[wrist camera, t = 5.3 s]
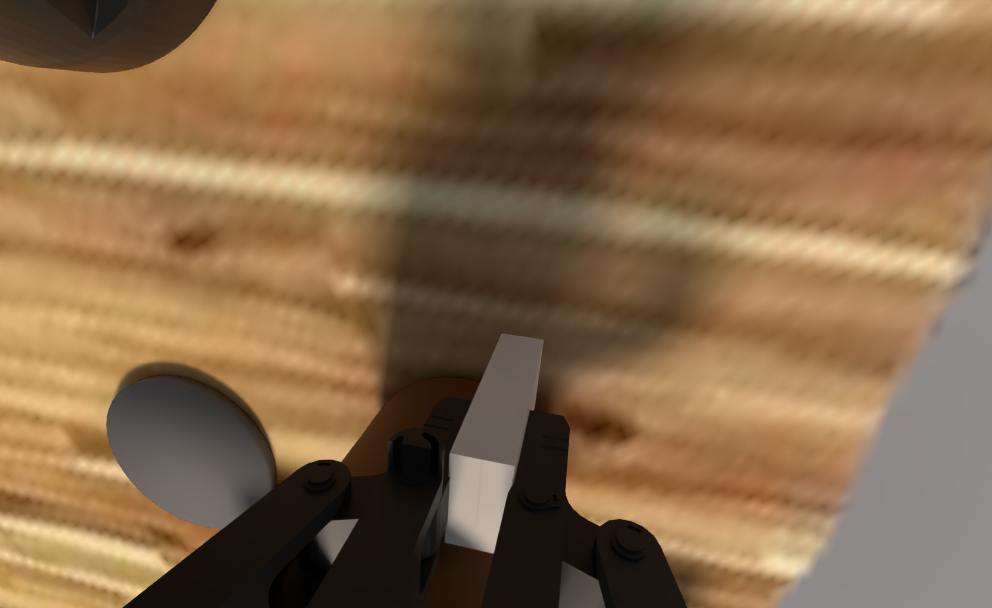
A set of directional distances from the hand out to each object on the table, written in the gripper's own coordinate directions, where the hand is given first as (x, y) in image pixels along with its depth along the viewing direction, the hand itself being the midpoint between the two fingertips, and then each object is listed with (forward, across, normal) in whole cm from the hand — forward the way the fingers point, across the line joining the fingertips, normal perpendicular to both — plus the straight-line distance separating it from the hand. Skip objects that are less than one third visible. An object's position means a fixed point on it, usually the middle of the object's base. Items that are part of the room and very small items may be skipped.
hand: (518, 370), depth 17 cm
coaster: (+2, -16, -9) cm, 18 cm away
